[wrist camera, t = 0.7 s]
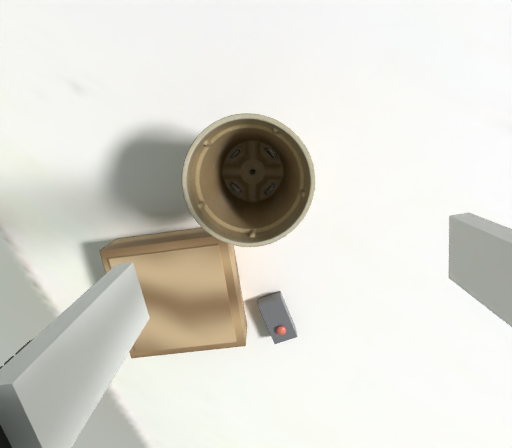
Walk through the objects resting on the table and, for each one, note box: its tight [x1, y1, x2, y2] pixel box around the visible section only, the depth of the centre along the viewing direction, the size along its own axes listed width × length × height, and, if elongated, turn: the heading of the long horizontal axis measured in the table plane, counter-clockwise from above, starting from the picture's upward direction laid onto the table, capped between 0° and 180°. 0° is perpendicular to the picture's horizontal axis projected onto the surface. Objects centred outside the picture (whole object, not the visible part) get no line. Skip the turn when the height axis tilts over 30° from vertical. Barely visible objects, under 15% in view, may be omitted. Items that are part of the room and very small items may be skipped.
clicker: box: [258, 291, 297, 344], centre depth 34 cm, size 5×3×2 cm, turn 22°
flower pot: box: [182, 114, 315, 247], centre depth 26 cm, size 9×9×9 cm
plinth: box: [100, 228, 247, 358], centre depth 32 cm, size 12×12×4 cm
